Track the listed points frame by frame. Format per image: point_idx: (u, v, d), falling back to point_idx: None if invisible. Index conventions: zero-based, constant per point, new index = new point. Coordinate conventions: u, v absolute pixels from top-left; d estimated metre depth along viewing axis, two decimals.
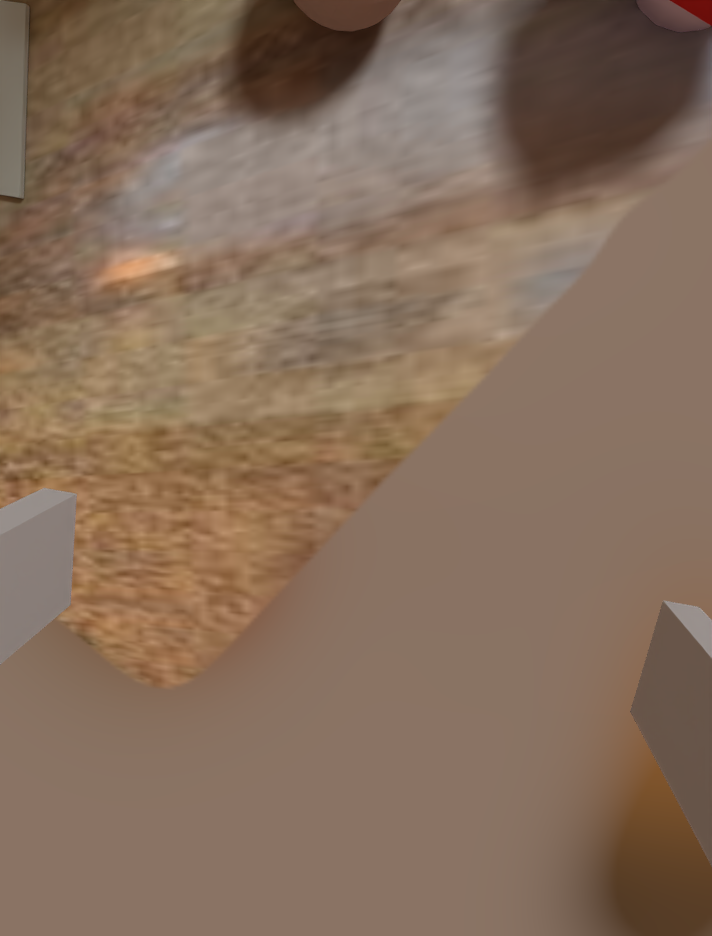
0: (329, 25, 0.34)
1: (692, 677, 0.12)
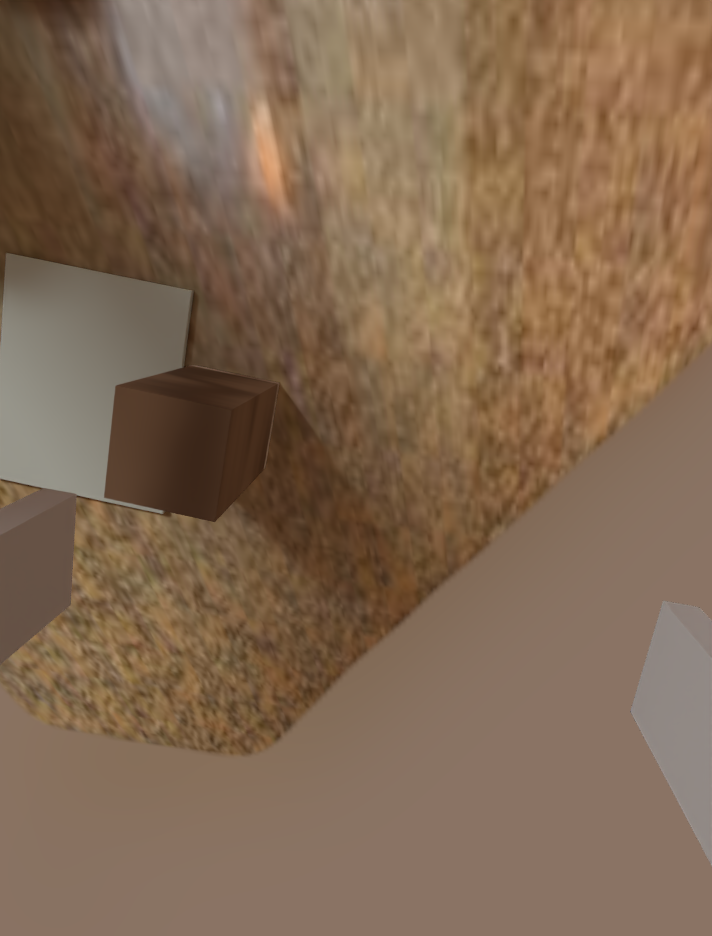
0: None
1: (692, 677, 0.12)
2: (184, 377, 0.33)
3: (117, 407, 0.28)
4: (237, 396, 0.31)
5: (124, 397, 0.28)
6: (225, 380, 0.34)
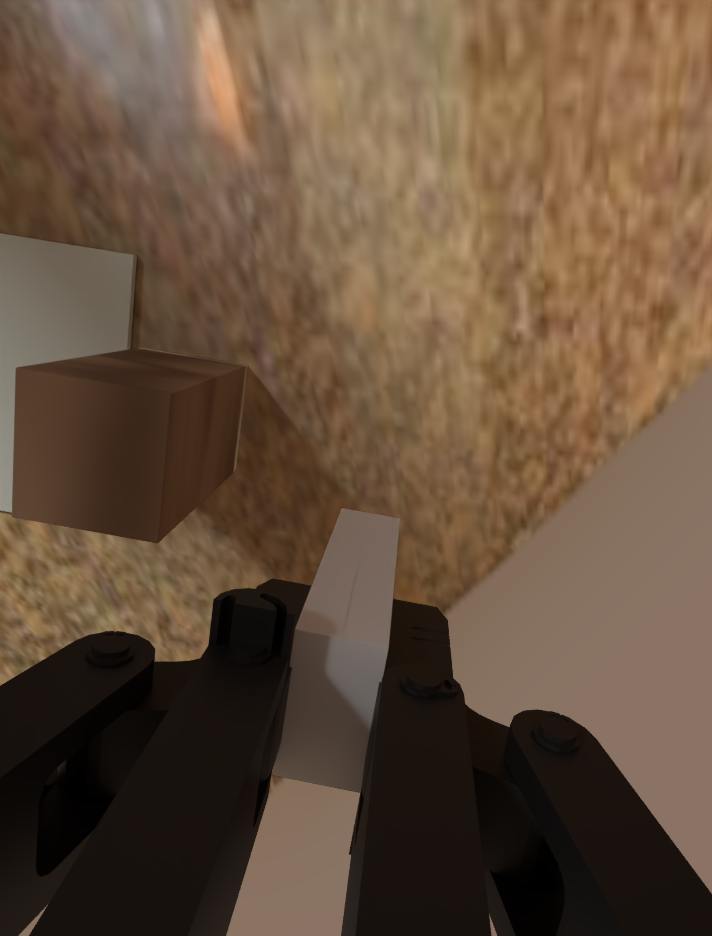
0: None
1: None
2: (122, 359, 0.26)
3: (20, 396, 0.21)
4: (185, 379, 0.24)
5: (28, 383, 0.21)
6: (177, 362, 0.27)
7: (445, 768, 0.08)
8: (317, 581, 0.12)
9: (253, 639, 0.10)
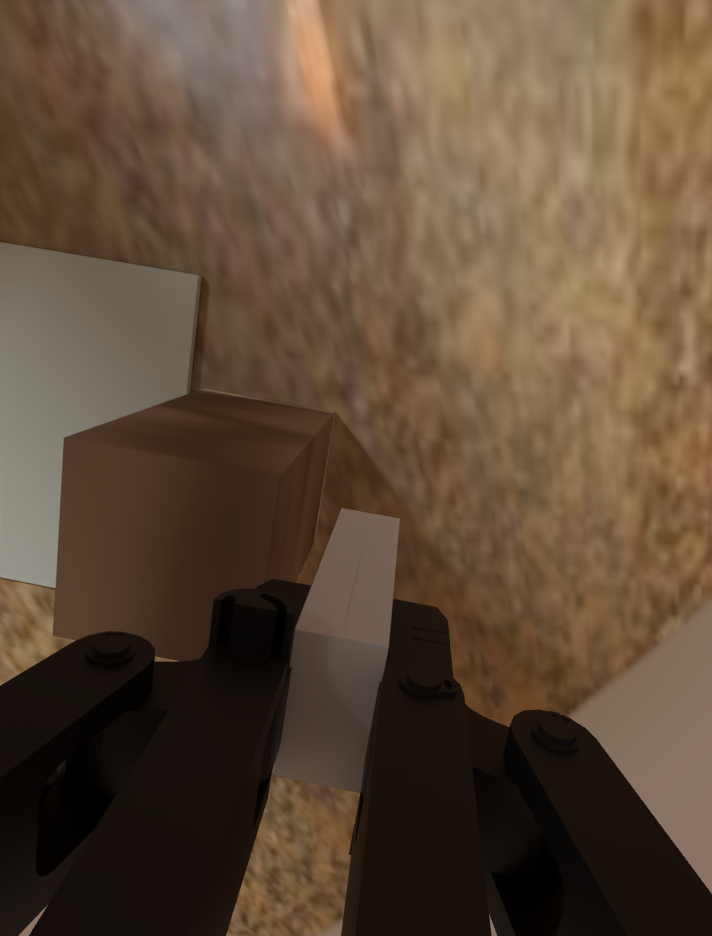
0: None
1: None
2: (190, 411, 0.20)
3: (69, 476, 0.15)
4: (281, 443, 0.18)
5: (81, 458, 0.15)
6: (256, 412, 0.22)
7: (445, 768, 0.08)
8: (317, 581, 0.12)
9: (253, 639, 0.10)
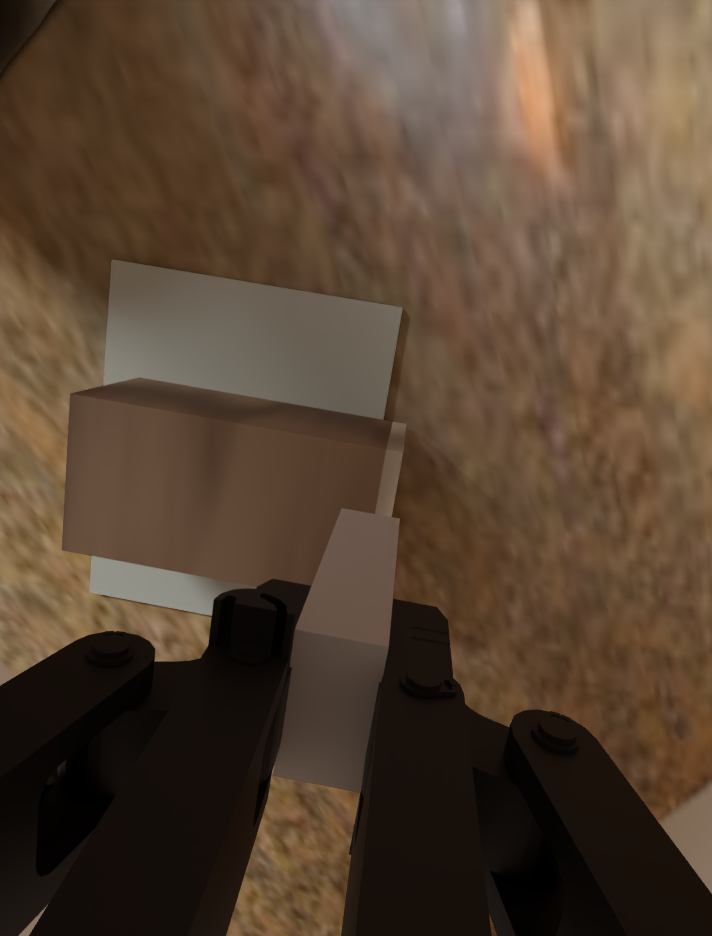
0: None
1: None
2: (275, 406, 0.23)
3: None
4: (183, 409, 0.20)
5: None
6: (313, 421, 0.21)
7: (445, 768, 0.08)
8: (317, 581, 0.12)
9: (253, 639, 0.10)
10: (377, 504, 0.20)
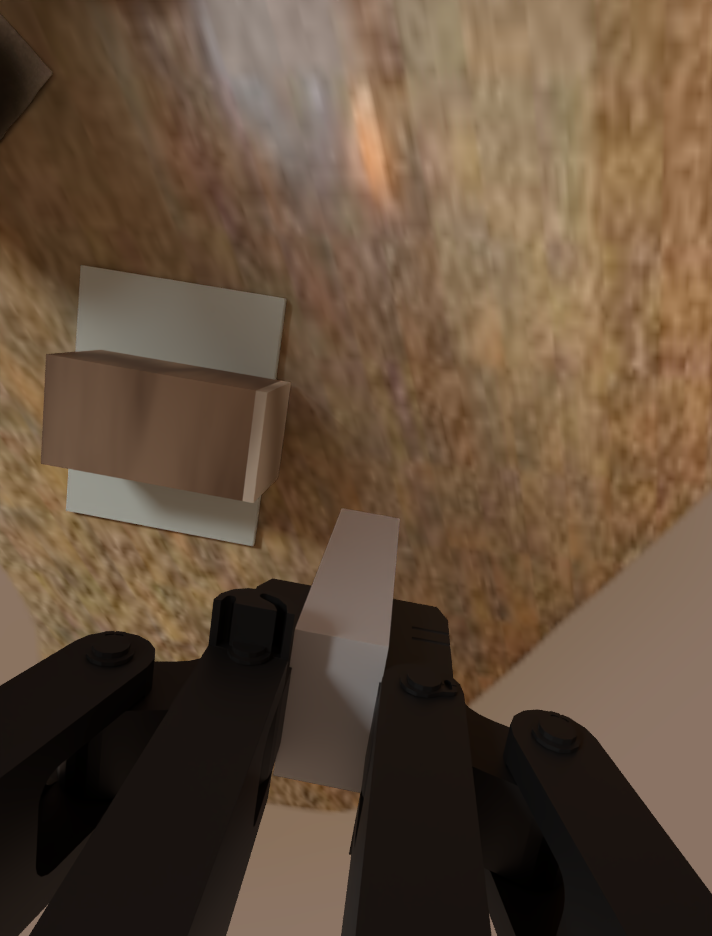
0: None
1: None
2: (194, 368, 0.33)
3: None
4: (122, 365, 0.29)
5: None
6: (216, 376, 0.31)
7: (445, 768, 0.08)
8: (317, 581, 0.12)
9: (253, 639, 0.10)
10: (251, 428, 0.29)
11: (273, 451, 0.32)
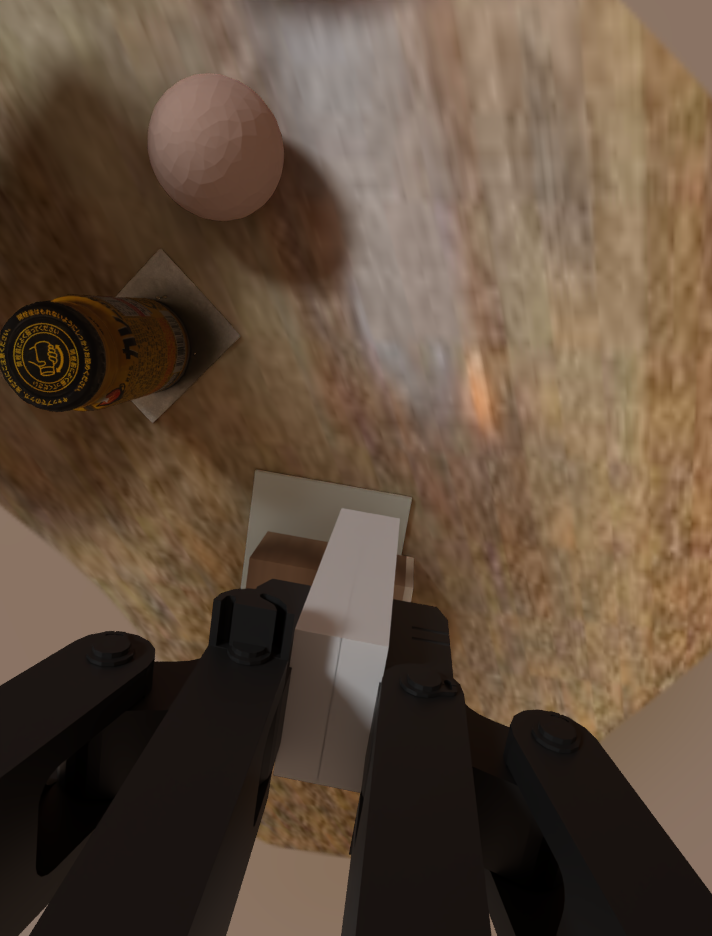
0: (281, 169, 0.36)
1: None
2: None
3: None
4: (303, 563, 0.40)
5: None
6: None
7: (445, 768, 0.08)
8: (317, 581, 0.12)
9: (253, 639, 0.10)
10: None
11: None
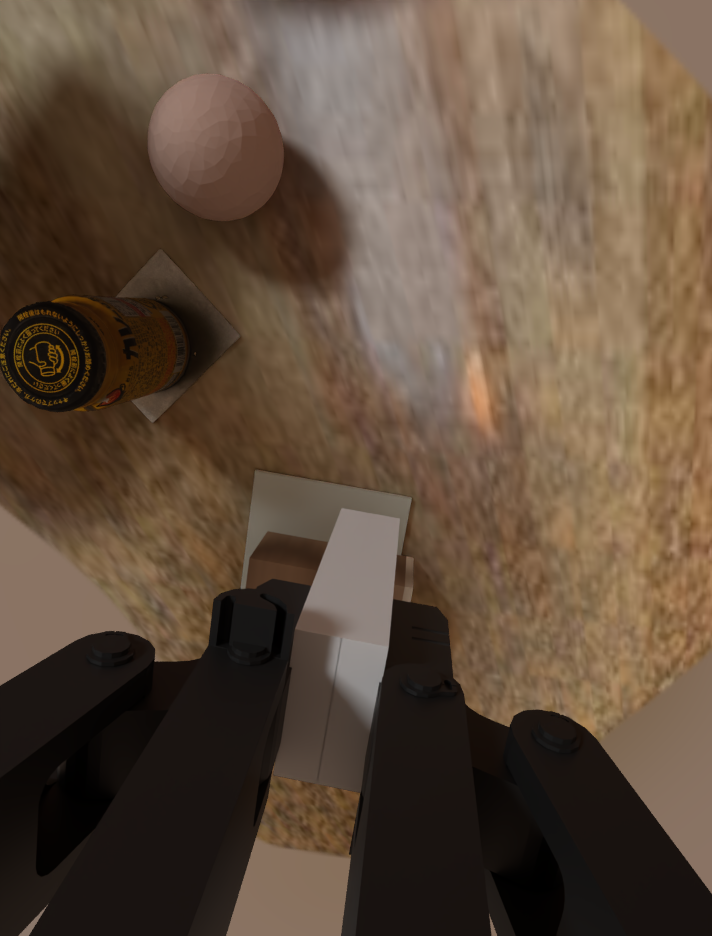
0: (281, 169, 0.36)
1: None
2: None
3: None
4: (303, 563, 0.40)
5: None
6: None
7: (445, 768, 0.08)
8: (317, 581, 0.12)
9: (253, 639, 0.10)
10: None
11: None
